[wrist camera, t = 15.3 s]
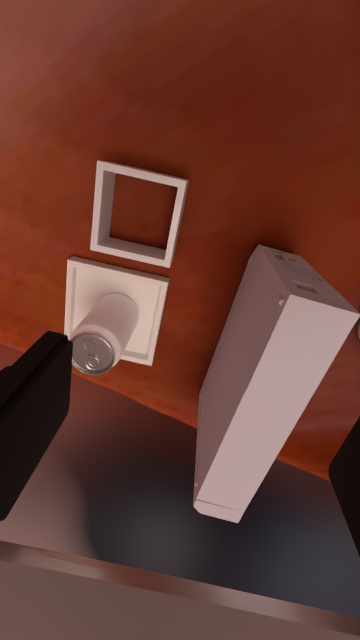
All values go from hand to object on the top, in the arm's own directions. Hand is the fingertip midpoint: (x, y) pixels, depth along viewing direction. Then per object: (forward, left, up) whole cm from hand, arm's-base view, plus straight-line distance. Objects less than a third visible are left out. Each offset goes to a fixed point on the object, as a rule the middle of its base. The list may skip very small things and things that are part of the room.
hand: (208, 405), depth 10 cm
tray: (+15, -11, -34) cm, 39 cm away
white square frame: (0, -9, -34) cm, 35 cm away
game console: (+14, +8, -35) cm, 38 cm away
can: (+15, -10, -34) cm, 38 cm away
